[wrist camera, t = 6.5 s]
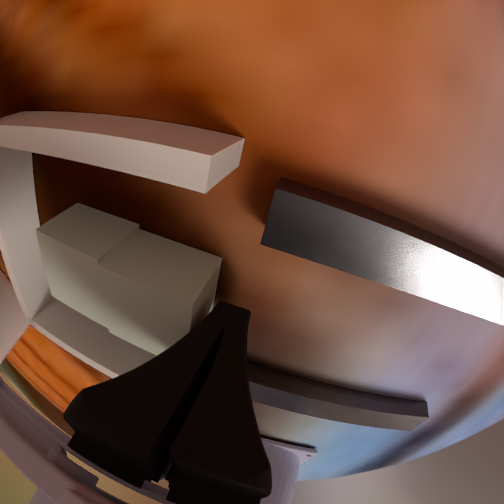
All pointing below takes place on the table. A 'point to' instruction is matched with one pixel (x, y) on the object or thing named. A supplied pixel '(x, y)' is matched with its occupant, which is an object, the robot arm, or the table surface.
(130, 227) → the chip
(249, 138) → the table surface
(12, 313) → the candle holder
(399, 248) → the channel
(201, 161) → the white u-shaped bracket
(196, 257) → the white small block
